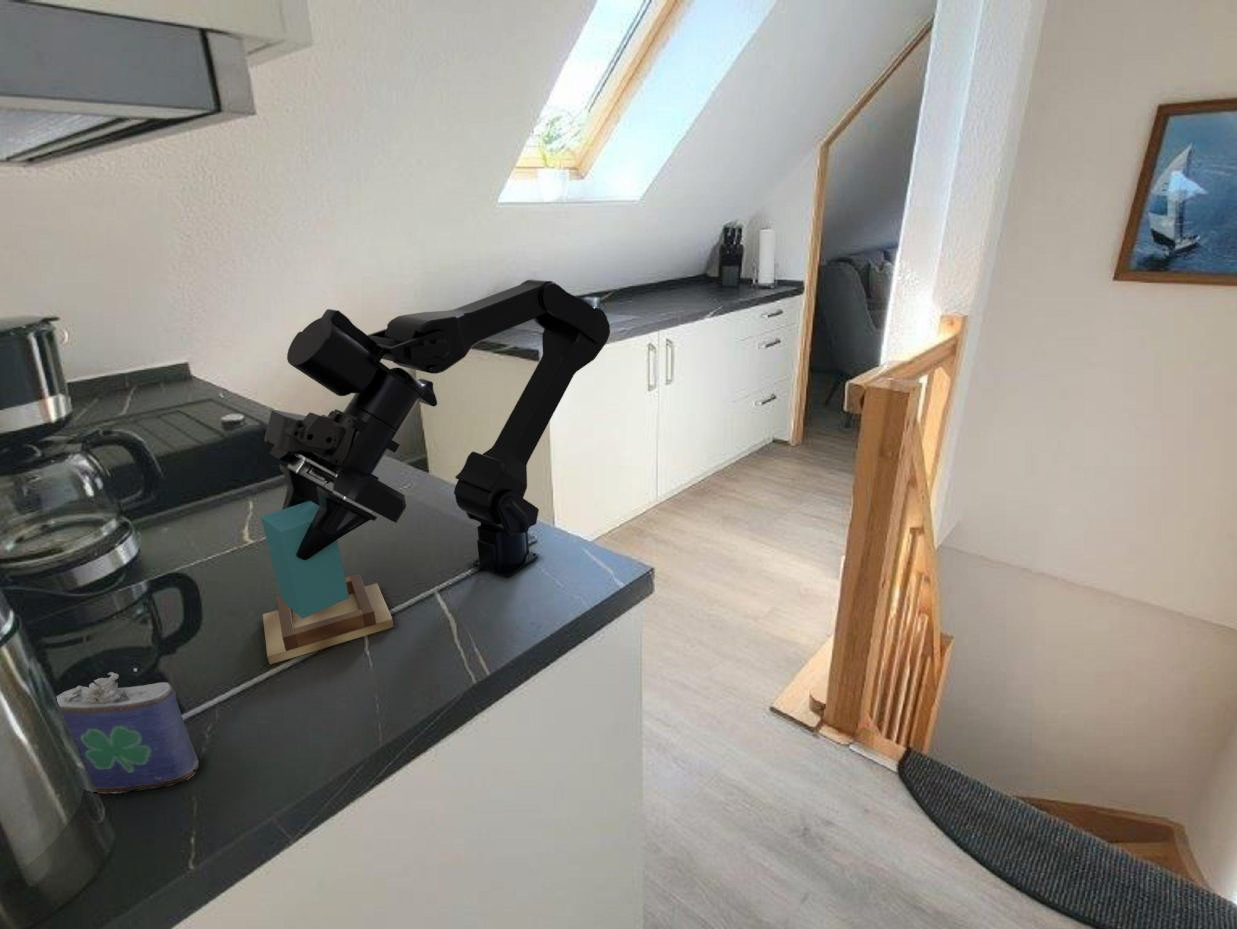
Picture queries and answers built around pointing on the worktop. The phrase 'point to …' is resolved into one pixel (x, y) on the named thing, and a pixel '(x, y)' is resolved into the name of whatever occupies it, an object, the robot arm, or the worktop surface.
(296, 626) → the socket pad
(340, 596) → the teal rectangular block
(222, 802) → the worktop surface
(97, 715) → the flask
